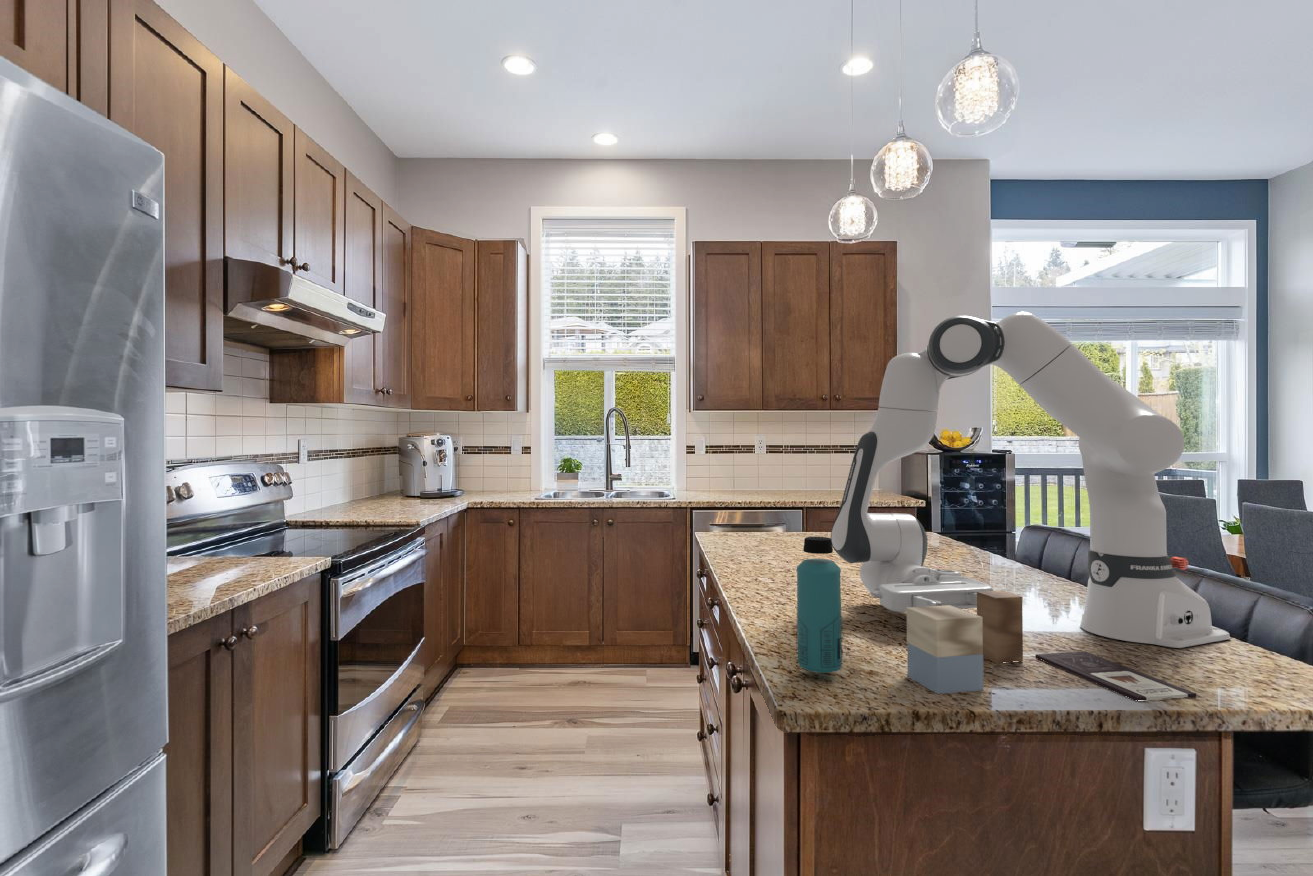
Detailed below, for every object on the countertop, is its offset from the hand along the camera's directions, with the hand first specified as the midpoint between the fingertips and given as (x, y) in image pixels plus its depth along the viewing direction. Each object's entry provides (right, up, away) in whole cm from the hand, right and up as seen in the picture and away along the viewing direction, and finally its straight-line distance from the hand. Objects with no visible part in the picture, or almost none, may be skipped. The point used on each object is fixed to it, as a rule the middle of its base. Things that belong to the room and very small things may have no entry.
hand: (963, 606), depth 112 cm
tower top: (-12, -1, -19) cm, 23 cm away
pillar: (+2, -6, -9) cm, 11 cm away
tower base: (-12, -6, -20) cm, 24 cm away
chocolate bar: (+13, -6, -17) cm, 22 cm away
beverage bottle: (-28, -6, -17) cm, 34 cm away
